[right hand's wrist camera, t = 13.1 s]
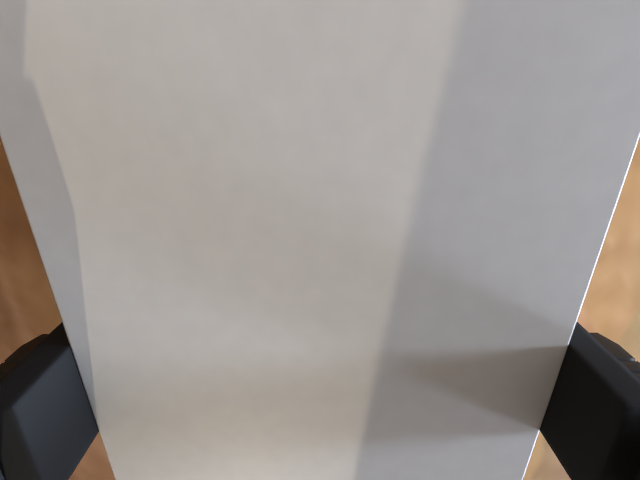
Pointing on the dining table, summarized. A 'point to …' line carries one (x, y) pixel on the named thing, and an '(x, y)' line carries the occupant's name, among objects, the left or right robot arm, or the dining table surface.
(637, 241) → the dining table surface
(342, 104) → the cabinet
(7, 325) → the dining table surface
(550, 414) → the right robot arm
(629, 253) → the dining table surface
